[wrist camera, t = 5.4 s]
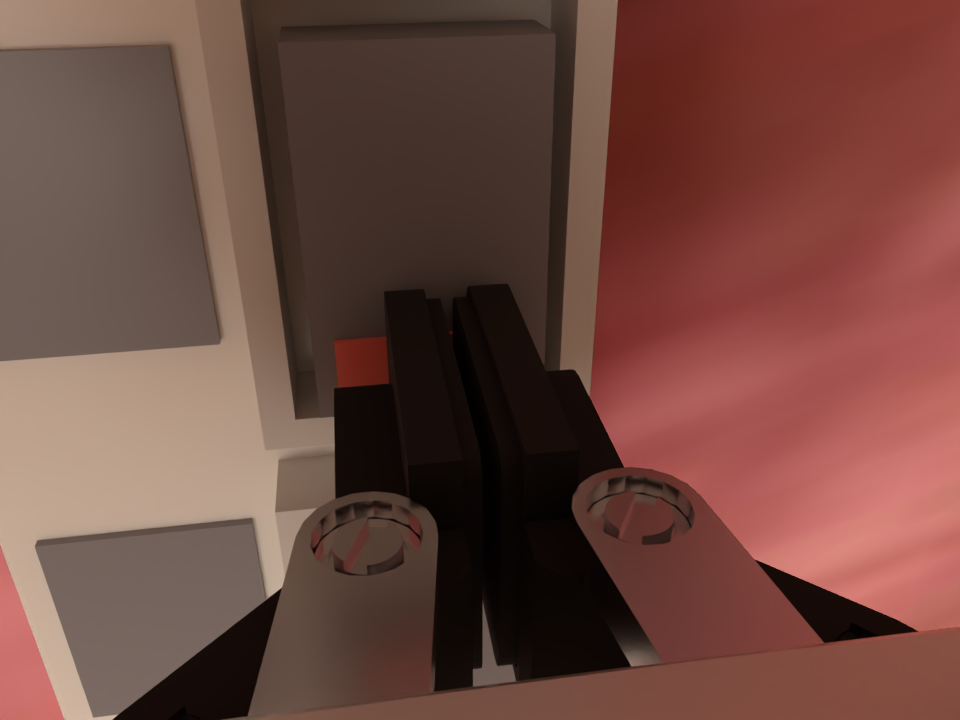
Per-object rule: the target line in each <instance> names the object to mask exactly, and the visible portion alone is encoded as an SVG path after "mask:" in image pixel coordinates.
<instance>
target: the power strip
mask: <svg viewBox="0 0 960 720" xmlns="http://www.w3.org/2000/svg"><path fill="white" fill-rule="evenodd" d="M617 6H618V0H0V546H1V548H2V551H3V554H4V557H5V559H6V562H7V565H8V567H9V570H10V573H11V576H12V578H13V581H14V584H15V586H16V589H17V592H18V594H19V597H20V600H21V603H22V605H23V608H24V611H25V613H26V616H27V619H28V622H29V624H30V627H31V630H32V632H33V635H34V638H35V641H36V643H37V646H38V649H39V651H40V654H41V657H42V660H43V662H44V665H45V668H46V670H47V673H48V676H49V679H50V681H51V684H52V687H53V689H54V692H55V695H56V698H57V700H58V703H59V706H60V708H61V711H62V714H63V717H64V719H65V720H113V719H114V718H115V717H116V716H117V715H118V714H120V713H121V712H122V711H124V710H125V709H126V708H127V707H129V706H130V705H131V704H133V703H134V702H135V701H136V700H138V699H139V698H140V697H142V696H143V695H144V694H145V693H147V692H148V691H149V690H151V689H152V688H153V687H154V686H156V685H157V684H158V683H160V682H161V681H162V680H163V679H165V678H166V677H167V676H169V675H170V674H171V673H172V672H174V671H175V670H176V669H178V668H179V667H180V666H181V665H183V664H184V663H185V662H187V661H188V660H189V659H191V658H192V657H193V656H194V655H196V654H197V653H198V652H200V651H201V650H202V649H203V648H205V647H206V646H207V645H209V644H210V643H211V642H212V641H214V640H215V639H216V638H218V637H219V636H220V635H221V634H223V633H224V632H225V631H227V630H228V629H229V628H230V627H232V626H233V625H234V624H236V623H237V622H238V621H239V620H241V619H242V618H243V617H245V616H246V615H247V614H248V613H250V612H251V611H252V610H254V609H255V608H256V607H258V606H259V605H260V604H261V603H263V602H264V601H265V600H267V599H268V598H269V597H270V596H272V595H273V594H274V593H276V592H277V591H278V590H279V589H281V588H282V586H283V582H284V578H285V575H286V571H287V567H288V563H289V560H290V556H291V552H292V548H293V545H294V541H295V537H296V535H297V533H298V531H299V529H300V527H301V525H302V523H303V521H304V520H305V519H306V518H308V517H309V516H310V515H311V514H312V513H313V512H314V511H315V510H316V509H317V508H319V507H321V506H323V505H325V504H326V503H328V502H330V501H332V500H334V499H335V439H334V417H326V418H320V413H319V404H318V395H317V387H316V378H315V369H314V360H313V351H312V343H311V334H310V325H309V316H308V307H307V299H306V290H305V281H304V272H303V263H302V255H301V246H300V237H299V228H298V219H297V211H296V202H295V193H294V184H293V175H292V167H291V158H290V149H289V140H288V131H287V123H286V114H285V105H284V96H283V87H282V79H281V70H280V61H279V52H278V39H279V35H280V31H281V27H297V26H331V25H365V24H398V23H432V22H466V21H500V20H533V19H534V20H536V21H537V22H539V23H540V24H542V25H543V26H545V27H546V28H548V29H549V30H551V31H552V32H554V33H555V34H556V46H555V75H554V104H553V133H552V162H551V191H550V220H549V249H548V278H547V307H546V336H545V364H544V368H545V370H546V371H555V370H567V369H573V370H575V371H576V372H577V374H578V375H579V377H580V379H581V381H582V383H583V385H584V387H585V389H586V391H587V393H588V395H589V397H590V387H591V373H592V359H593V344H594V330H595V316H596V302H597V288H598V274H599V260H600V246H601V232H602V217H603V203H604V189H605V175H606V161H607V147H608V133H609V119H610V105H611V90H612V76H613V62H614V48H615V34H616V20H617Z"/></svg>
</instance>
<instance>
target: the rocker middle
mask: <svg viewBox="0 0 960 720" xmlns="http://www.w3.org/2000/svg"><path fill="white" fill-rule="evenodd" d="M555 46H556V34H555V33H554V32H552V31H551V30H549V29H548V28H546V27H545V26H543V25H542V24H540V23H539V22H537V21H536V20H534V19H533V20H500V21H466V22H432V23H398V24H365V25H331V26H297V27H281V31H280V35H279V39H278V52H279V61H280V70H281V79H282V87H283V96H284V105H285V114H286V123H287V131H288V140H289V149H290V158H291V167H292V175H293V184H294V193H295V202H296V211H297V219H298V228H299V237H300V246H301V255H302V263H303V272H304V281H305V290H306V299H307V307H308V316H309V325H310V334H311V343H312V351H313V360H314V369H315V378H316V387H317V395H318V404H319V413H320V418H326V417H334V388H339V387H352V386H364V385H377V384H389V374H388V357H387V341H386V325H385V308H384V291H399V290H414V289H424V292H425V296H426V299H437V298H440V300H441V303H442V307H443V311H444V315H445V318H446V322H447V326H448V330H449V334H450V338H451V341H452V345H453V298H454V297H466V294H467V287H468V286H476V285H491V284H508V285H509V287H510V289H511V291H512V294H513V296H514V298H515V301H516V303H517V305H518V308H519V310H520V312H521V314H522V317H523V319H524V321H525V324H526V326H527V328H528V331H529V333H530V335H531V338H532V340H533V342H534V344H535V347H536V349H537V351H538V354H539V356H540V358H541V361H542V363H543V365H544V364H545V336H546V307H547V278H548V249H549V220H550V191H551V162H552V133H553V104H554V75H555Z"/></svg>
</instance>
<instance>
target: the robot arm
mask: <svg viewBox="0 0 960 720" xmlns="http://www.w3.org/2000/svg"><path fill="white" fill-rule="evenodd" d="M384 308H385V325H386V341H387V357H388V374H389V384H377V385H364V386H352V387H339V388H334V439H335V499H334V500H332V501H330V502H328V503H326V504H325V505H323V506H321V507H319V508H317V509H316V510H315V511H314V512H313V513H312V514H311V515H310V516H309V517H308V518H306V519H305V520H304V521H303V523H302V525H301V527H300V529H299V531H298V533H297V535H296V537H295V541H294V545H293V548H292V552H291V556H290V560H289V563H288V567H287V571H286V575H285V578H284V582H283V586H282V588H281V589H279V590H278V591H277V592H276V593H274V594H273V595H272V596H270V597H269V598H268V599H267V600H265V601H264V602H263V603H261V604H260V605H259V606H258V607H256V608H255V609H254V610H252V611H251V612H250V613H248V614H247V615H246V616H245V617H243V618H242V619H241V620H239V621H238V622H237V623H236V624H234V625H233V626H232V627H230V628H229V629H228V630H227V631H225V632H224V633H223V634H221V635H220V636H219V637H218V638H216V639H215V640H214V641H212V642H211V643H210V644H209V645H207V646H206V647H205V648H203V649H202V650H201V651H200V652H198V653H197V654H196V655H194V656H193V657H192V658H191V659H189V660H188V661H187V662H185V663H184V664H183V665H181V666H180V667H179V668H178V669H176V670H175V671H174V672H172V673H171V674H170V675H169V676H167V677H166V678H165V679H163V680H162V681H161V682H160V683H158V684H157V685H156V686H154V687H153V688H152V689H151V690H149V691H148V692H147V693H145V694H144V695H143V696H142V697H140V698H139V699H138V700H136V701H135V702H134V703H133V704H131V705H130V706H129V707H127V708H126V709H125V710H124V711H122V712H121V713H120V714H118V715H117V716H116V717H115V718H114V719H113V720H960V627H953V628H945V629H936V630H928V631H920V632H919V631H917V630H915V629H913V628H911V627H909V626H907V625H905V624H904V623H902V622H900V621H898V620H896V619H894V618H891V617H889V616H887V615H884V614H882V613H880V612H877V611H875V610H872V609H870V608H868V607H865V606H863V605H861V604H858V603H856V602H854V601H851V600H849V599H847V598H844V597H842V596H839V595H837V594H835V593H832V592H830V591H828V590H825V589H823V588H821V587H818V586H816V585H814V584H811V583H809V582H807V581H804V580H802V579H799V578H797V577H795V576H792V575H790V574H788V573H785V572H783V571H781V570H778V569H776V568H774V567H771V566H769V565H766V564H764V563H762V562H759V561H757V560H755V559H753V557H752V556H751V555H750V554H749V553H748V551H747V550H746V549H745V548H744V547H743V545H742V544H741V543H740V542H739V541H738V539H737V538H736V537H735V536H734V535H733V534H732V532H731V531H730V530H729V529H728V528H727V526H726V525H725V524H724V523H723V522H722V520H721V519H720V518H719V517H718V516H717V514H716V513H715V512H714V511H713V510H712V509H711V507H710V506H709V505H708V504H707V503H706V501H705V500H704V499H703V498H702V497H701V495H699V494H698V493H697V492H696V491H695V490H694V489H693V488H692V487H690V486H689V485H688V484H687V483H685V482H683V481H681V480H679V479H677V478H675V477H673V476H671V475H669V474H665V473H662V472H659V471H655V470H652V469H643V468H634V467H627V468H624V466H623V464H622V462H621V460H620V458H619V456H618V454H617V452H616V450H615V448H614V446H613V444H612V442H611V440H610V438H609V436H608V434H607V432H606V430H605V428H604V426H603V424H602V422H601V420H600V418H599V415H598V413H597V411H596V409H595V407H594V405H593V403H592V401H591V399H590V397H589V395H588V393H587V391H586V389H585V387H584V385H583V383H582V381H581V379H580V377H579V375H578V374H577V372H576V371H575V370H573V369H567V370H555V371H546V370H545V368H544V365H543V363H542V361H541V358H540V356H539V354H538V351H537V349H536V347H535V344H534V342H533V340H532V338H531V335H530V333H529V331H528V328H527V326H526V324H525V321H524V319H523V317H522V314H521V312H520V310H519V308H518V305H517V303H516V301H515V298H514V296H513V294H512V291H511V289H510V287H509V285H508V284H491V285H476V286H468V287H467V294H466V297H454V298H453V345H452V341H451V338H450V334H449V330H448V326H447V322H446V318H445V315H444V311H443V307H442V303H441V300H440V298H437V299H426V296H425V292H424V289H414V290H399V291H384ZM483 605H484V610H485V615H486V619H487V624H488V629H489V634H490V638H491V643H492V648H493V652H494V657H495V661H496V664H497V666H504V665H512V666H513V670H514V674H515V679H516V681H514V682H506V683H498V684H490V685H483V686H475V687H473V669H480V668H482V662H483Z"/></svg>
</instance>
